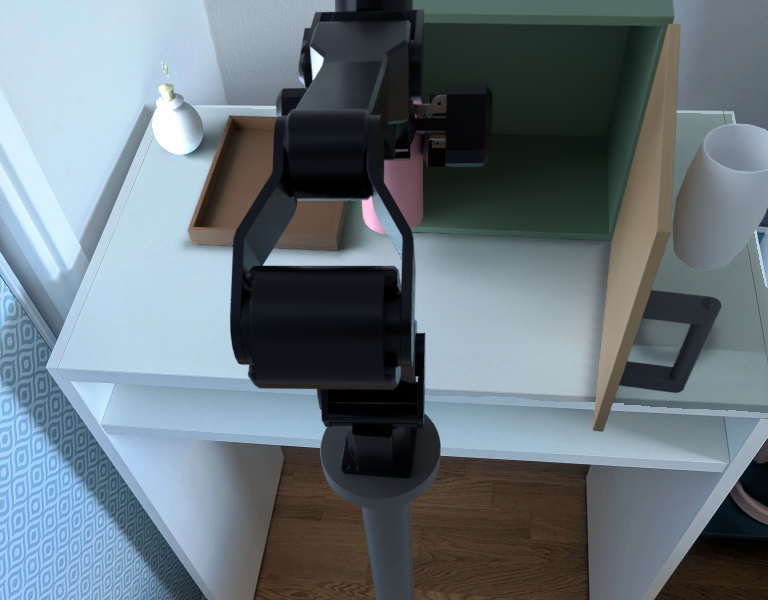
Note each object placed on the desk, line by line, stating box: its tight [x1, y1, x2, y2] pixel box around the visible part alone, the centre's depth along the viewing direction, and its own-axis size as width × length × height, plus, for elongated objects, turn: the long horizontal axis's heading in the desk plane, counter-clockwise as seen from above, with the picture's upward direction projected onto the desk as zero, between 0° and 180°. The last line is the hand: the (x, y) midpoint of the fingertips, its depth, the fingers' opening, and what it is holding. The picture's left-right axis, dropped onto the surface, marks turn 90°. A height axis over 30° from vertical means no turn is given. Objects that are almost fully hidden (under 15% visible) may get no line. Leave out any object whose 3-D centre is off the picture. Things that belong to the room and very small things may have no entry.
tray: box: [187, 114, 350, 252], centre depth 91 cm, size 21×17×2 cm
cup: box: [672, 122, 768, 271], centre depth 68 cm, size 7×7×21 cm
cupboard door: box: [592, 23, 722, 433], centre depth 67 cm, size 7×26×23 cm, turn 168°
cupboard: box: [412, 0, 675, 242], centre depth 80 cm, size 18×26×24 cm
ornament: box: [152, 61, 204, 155], centre depth 92 cm, size 6×7×10 cm
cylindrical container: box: [361, 100, 423, 236], centre depth 76 cm, size 6×6×12 cm
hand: (390, 146), depth 75 cm, fingers closed on cylindrical container, 6 cm apart
